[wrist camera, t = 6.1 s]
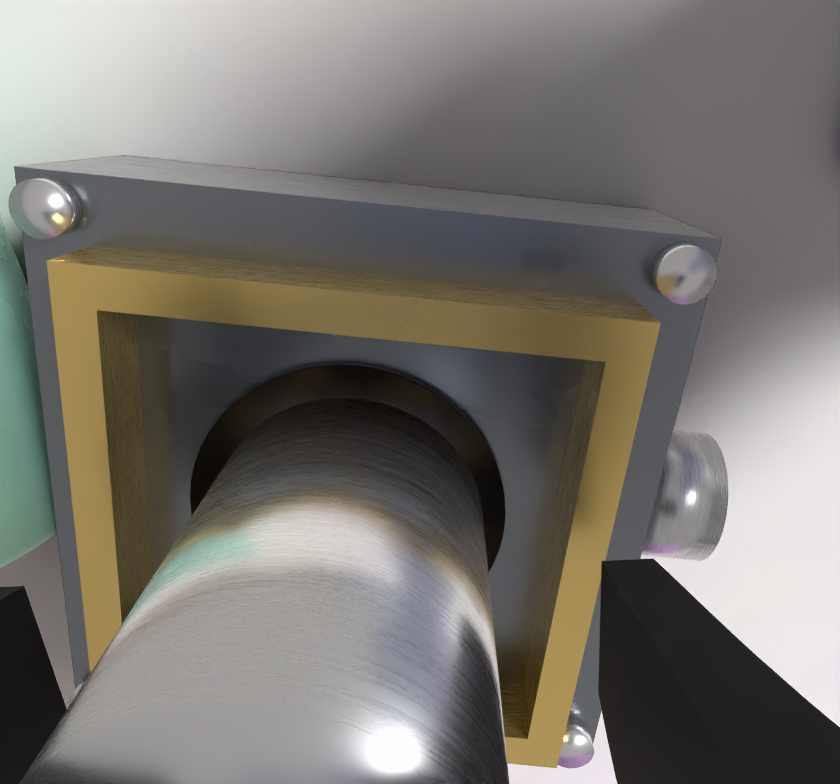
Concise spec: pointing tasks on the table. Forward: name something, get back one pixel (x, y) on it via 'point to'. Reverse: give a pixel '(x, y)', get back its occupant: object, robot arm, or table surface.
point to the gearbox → (374, 380)
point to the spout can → (306, 623)
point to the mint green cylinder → (20, 421)
